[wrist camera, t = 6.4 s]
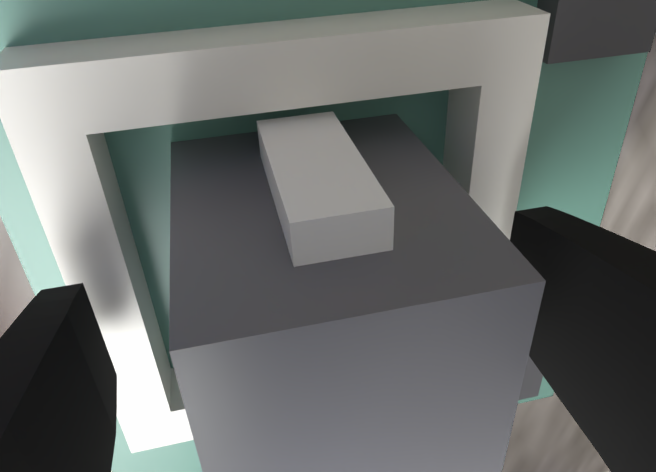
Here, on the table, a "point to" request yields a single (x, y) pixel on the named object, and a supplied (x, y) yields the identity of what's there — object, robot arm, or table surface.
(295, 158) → the plug
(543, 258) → the robot arm
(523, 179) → the board
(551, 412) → the table surface
